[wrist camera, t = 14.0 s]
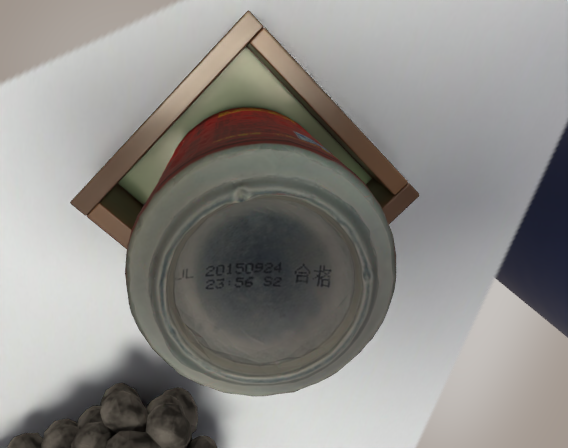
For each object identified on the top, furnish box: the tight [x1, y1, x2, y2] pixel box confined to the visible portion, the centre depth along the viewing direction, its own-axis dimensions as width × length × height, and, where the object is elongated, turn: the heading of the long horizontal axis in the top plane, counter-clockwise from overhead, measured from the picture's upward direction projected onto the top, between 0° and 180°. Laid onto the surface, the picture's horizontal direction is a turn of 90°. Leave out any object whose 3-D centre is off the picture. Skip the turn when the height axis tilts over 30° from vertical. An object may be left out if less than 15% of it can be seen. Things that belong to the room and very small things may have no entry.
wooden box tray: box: [70, 11, 419, 249], centre depth 23 cm, size 10×10×4 cm
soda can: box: [125, 107, 396, 396], centre depth 18 cm, size 7×7×12 cm
